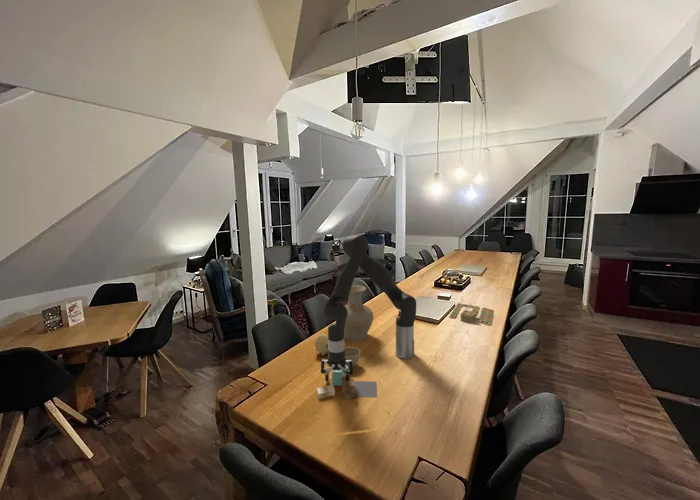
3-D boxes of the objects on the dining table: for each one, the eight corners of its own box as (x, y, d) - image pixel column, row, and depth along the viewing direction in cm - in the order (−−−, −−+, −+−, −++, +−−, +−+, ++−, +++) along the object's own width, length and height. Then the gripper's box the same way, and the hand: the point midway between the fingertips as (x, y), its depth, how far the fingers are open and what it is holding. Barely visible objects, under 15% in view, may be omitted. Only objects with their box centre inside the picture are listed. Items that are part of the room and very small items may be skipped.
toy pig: (327, 361, 153) (326, 341, 152) (311, 353, 161) (310, 335, 159) (340, 353, 161) (339, 335, 159) (324, 346, 168) (324, 329, 167)
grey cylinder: (348, 372, 143) (348, 364, 142) (348, 378, 138) (348, 370, 137) (338, 372, 143) (338, 364, 142) (337, 378, 138) (337, 370, 137)
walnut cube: (355, 389, 128) (353, 379, 127) (357, 396, 123) (354, 385, 122) (344, 392, 127) (341, 382, 127) (345, 400, 122) (342, 389, 122)
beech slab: (333, 391, 129) (332, 385, 128) (335, 397, 125) (335, 390, 125) (317, 394, 127) (316, 388, 127) (318, 400, 123) (318, 393, 123)
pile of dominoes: (491, 327, 192) (491, 319, 191) (447, 319, 205) (448, 312, 204) (495, 310, 222) (495, 302, 221) (457, 304, 235) (457, 297, 234)
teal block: (342, 381, 135) (341, 369, 135) (341, 386, 132) (341, 374, 131) (333, 381, 136) (333, 369, 135) (332, 386, 132) (332, 374, 131)
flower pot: (363, 361, 152) (362, 348, 151) (357, 372, 143) (356, 358, 142) (344, 358, 155) (344, 345, 154) (337, 368, 146) (337, 355, 145)
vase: (331, 340, 176) (330, 291, 171) (345, 326, 196) (344, 282, 191) (366, 346, 167) (366, 295, 163) (377, 331, 187) (377, 285, 183)
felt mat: (376, 382, 134) (376, 381, 134) (377, 398, 123) (377, 397, 123) (352, 382, 135) (352, 381, 135) (350, 398, 124) (350, 396, 124)
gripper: (353, 344, 134) (353, 377, 137) (321, 343, 135) (322, 376, 138) (352, 352, 127) (352, 387, 129) (318, 351, 128) (320, 386, 130)
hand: (337, 381), depth 133 cm, fingers open, 8 cm apart
